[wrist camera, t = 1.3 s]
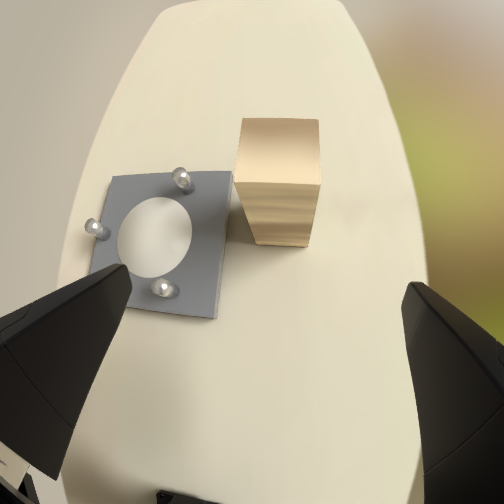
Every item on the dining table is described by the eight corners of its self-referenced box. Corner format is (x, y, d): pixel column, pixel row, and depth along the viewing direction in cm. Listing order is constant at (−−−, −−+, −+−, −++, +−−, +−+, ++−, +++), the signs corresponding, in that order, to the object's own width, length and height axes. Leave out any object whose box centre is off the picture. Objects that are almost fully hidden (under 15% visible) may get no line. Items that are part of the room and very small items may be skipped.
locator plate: (216, 318, 22) (204, 316, 18) (92, 300, 23) (68, 294, 20) (233, 176, 25) (225, 154, 21) (117, 180, 26) (99, 163, 23)
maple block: (307, 246, 22) (320, 184, 13) (256, 244, 23) (233, 181, 13) (308, 200, 23) (318, 119, 14) (260, 198, 24) (242, 118, 14)
